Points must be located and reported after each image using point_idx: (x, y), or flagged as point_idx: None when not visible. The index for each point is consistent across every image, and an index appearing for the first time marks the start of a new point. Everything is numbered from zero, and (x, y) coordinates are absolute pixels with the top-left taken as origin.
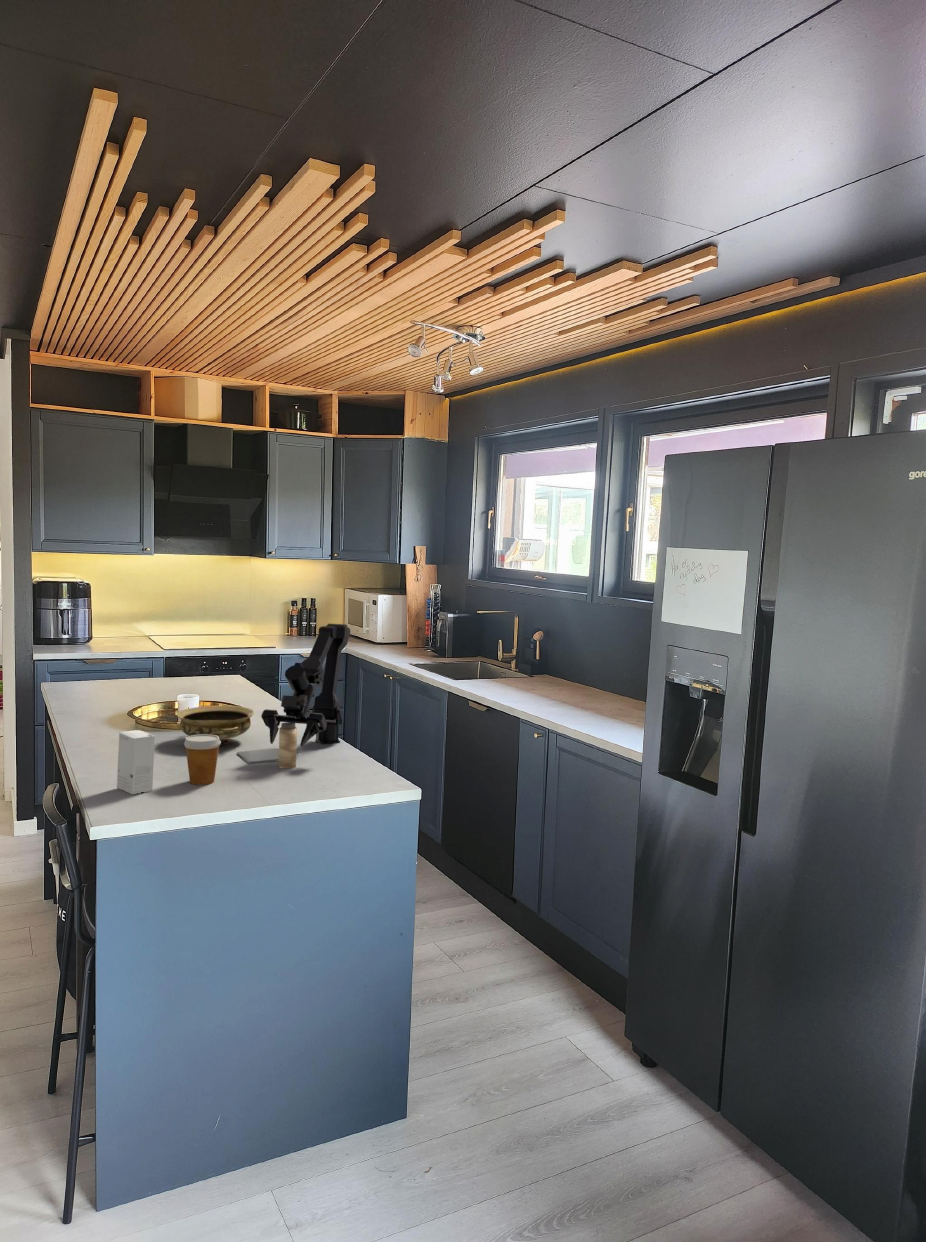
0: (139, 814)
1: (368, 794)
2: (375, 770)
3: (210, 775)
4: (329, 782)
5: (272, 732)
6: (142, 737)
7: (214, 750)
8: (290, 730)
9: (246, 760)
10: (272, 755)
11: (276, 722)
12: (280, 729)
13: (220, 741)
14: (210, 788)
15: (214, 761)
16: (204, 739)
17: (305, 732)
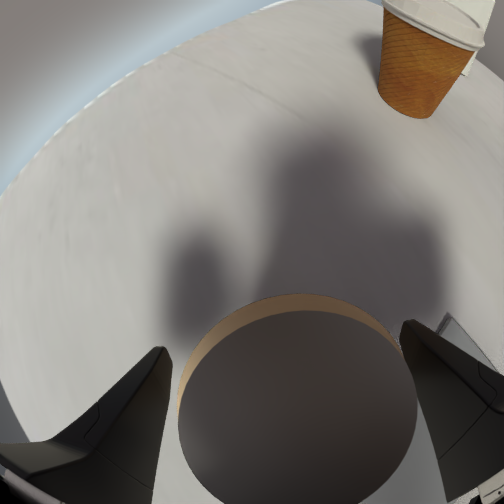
0: (333, 2)
1: (14, 179)
2: (9, 382)
3: (380, 70)
4: (71, 215)
5: (452, 361)
6: None
7: (384, 13)
8: (219, 325)
9: (469, 339)
10: (413, 457)
11: (492, 493)
12: (365, 313)
13: (410, 15)
14: (347, 67)
15: (384, 44)
16: (429, 3)
17: (107, 415)
